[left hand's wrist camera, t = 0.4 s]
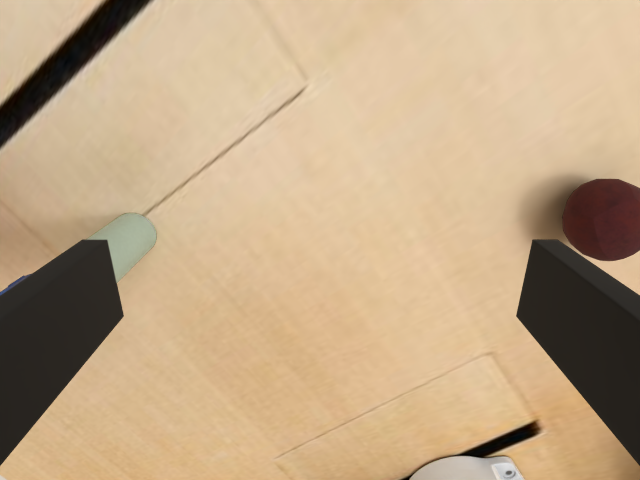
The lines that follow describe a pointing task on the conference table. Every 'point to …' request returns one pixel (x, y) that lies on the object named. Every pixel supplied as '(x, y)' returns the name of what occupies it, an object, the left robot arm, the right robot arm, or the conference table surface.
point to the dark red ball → (604, 219)
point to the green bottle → (127, 241)
